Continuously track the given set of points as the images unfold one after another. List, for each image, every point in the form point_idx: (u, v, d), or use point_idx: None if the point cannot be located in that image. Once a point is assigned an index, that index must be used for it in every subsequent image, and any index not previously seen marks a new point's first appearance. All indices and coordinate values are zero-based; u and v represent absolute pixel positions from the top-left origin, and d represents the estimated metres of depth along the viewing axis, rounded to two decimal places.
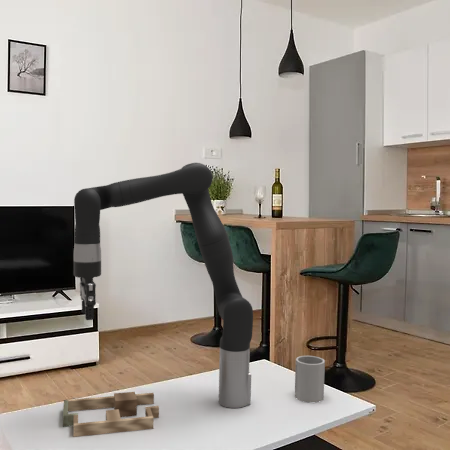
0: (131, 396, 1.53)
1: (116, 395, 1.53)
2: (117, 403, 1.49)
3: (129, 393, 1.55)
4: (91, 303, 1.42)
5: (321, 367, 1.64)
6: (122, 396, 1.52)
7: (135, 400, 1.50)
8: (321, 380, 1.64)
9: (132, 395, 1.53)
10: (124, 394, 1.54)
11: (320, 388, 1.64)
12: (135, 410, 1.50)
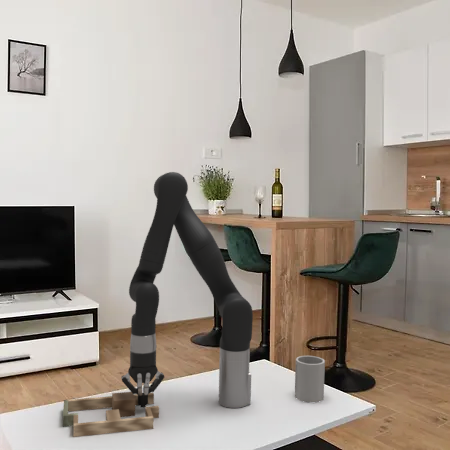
0: (129, 396, 1.53)
1: (114, 395, 1.53)
2: (115, 403, 1.49)
3: (127, 393, 1.55)
4: None
5: (321, 367, 1.64)
6: (121, 396, 1.52)
7: (133, 400, 1.50)
8: (321, 380, 1.64)
9: (130, 395, 1.53)
10: (122, 393, 1.54)
11: (320, 388, 1.64)
12: (133, 410, 1.50)
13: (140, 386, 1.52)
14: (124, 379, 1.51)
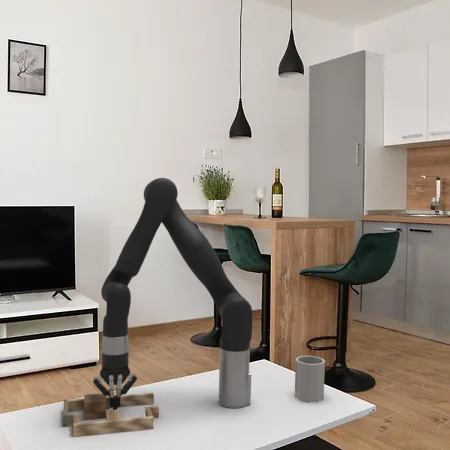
0: (101, 397, 1.50)
1: (85, 397, 1.51)
2: (86, 405, 1.47)
3: (99, 394, 1.53)
4: None
5: (321, 367, 1.64)
6: (92, 398, 1.50)
7: (104, 402, 1.48)
8: (321, 380, 1.64)
9: (102, 397, 1.51)
10: (95, 395, 1.52)
11: (320, 388, 1.64)
12: (104, 412, 1.48)
13: (112, 388, 1.50)
14: (95, 381, 1.49)
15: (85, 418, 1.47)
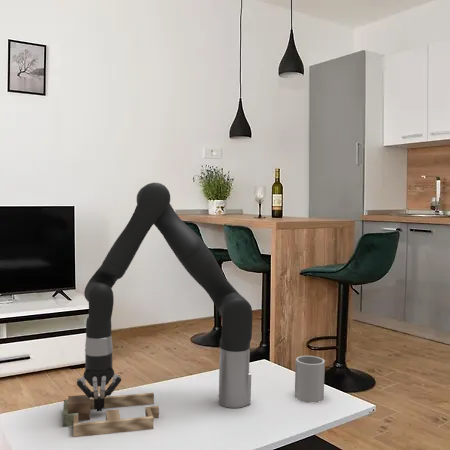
0: (85, 399, 1.49)
1: (69, 398, 1.50)
2: (69, 406, 1.46)
3: (83, 396, 1.52)
4: None
5: (321, 367, 1.64)
6: (76, 399, 1.49)
7: (88, 403, 1.47)
8: (321, 380, 1.64)
9: (86, 398, 1.50)
10: (79, 396, 1.51)
11: (320, 388, 1.64)
12: (88, 413, 1.47)
13: (96, 389, 1.48)
14: (79, 383, 1.47)
15: None
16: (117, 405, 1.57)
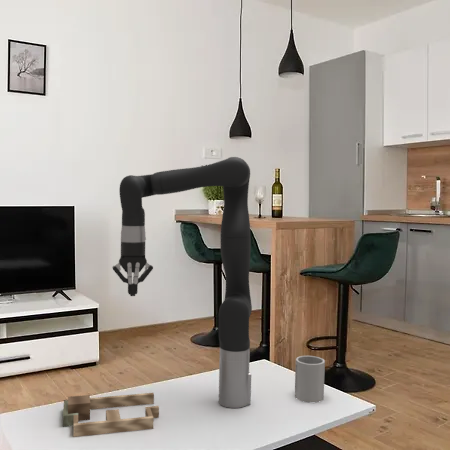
0: (85, 399, 1.49)
1: (69, 399, 1.50)
2: (69, 407, 1.46)
3: (83, 396, 1.52)
4: None
5: (321, 367, 1.64)
6: (76, 400, 1.49)
7: (88, 404, 1.47)
8: (321, 380, 1.64)
9: (86, 398, 1.50)
10: (78, 397, 1.51)
11: (320, 388, 1.64)
12: (88, 414, 1.47)
13: (130, 275, 1.61)
14: (115, 268, 1.60)
15: None
16: (117, 405, 1.57)
